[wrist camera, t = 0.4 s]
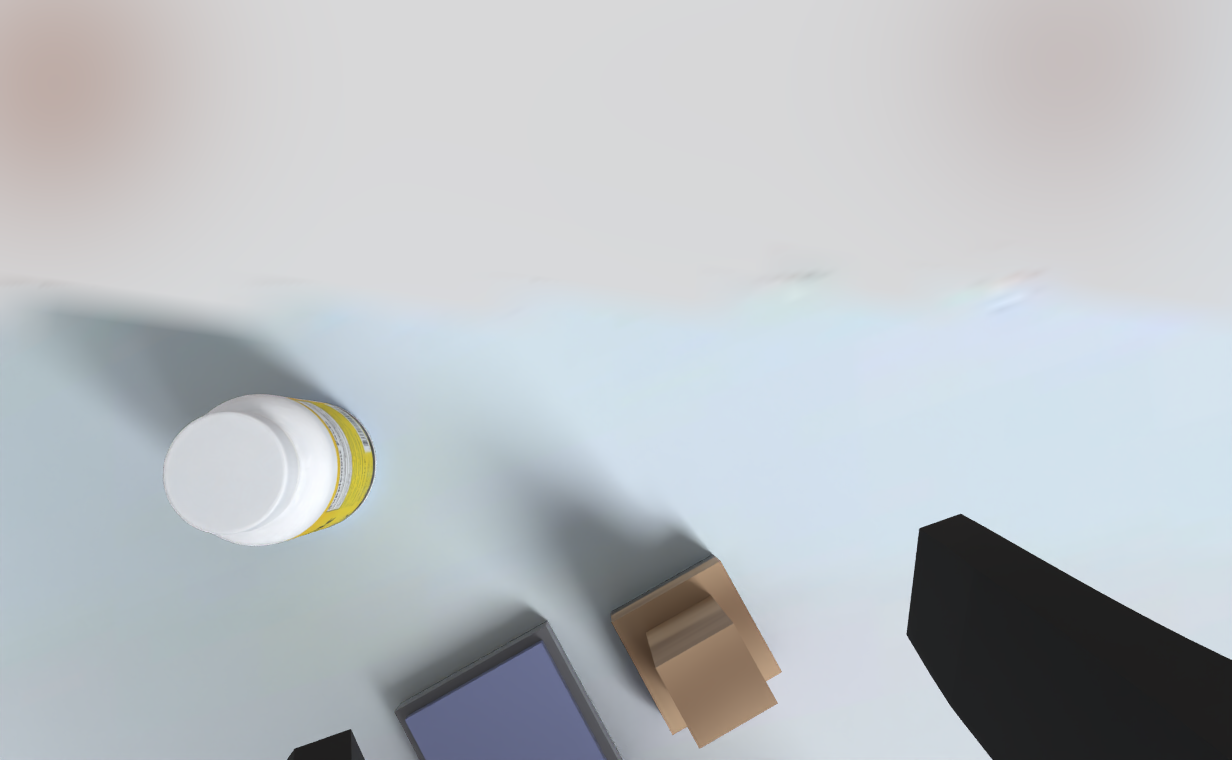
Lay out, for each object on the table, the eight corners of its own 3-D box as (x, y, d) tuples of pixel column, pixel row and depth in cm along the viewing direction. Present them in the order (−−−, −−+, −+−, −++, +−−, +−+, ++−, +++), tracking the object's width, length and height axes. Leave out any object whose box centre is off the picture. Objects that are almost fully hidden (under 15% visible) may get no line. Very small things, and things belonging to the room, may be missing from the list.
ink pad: (627, 769, 38) (629, 784, 36) (479, 854, 38) (474, 874, 36) (547, 620, 39) (545, 628, 37) (400, 703, 38) (391, 716, 36)
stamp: (770, 658, 39) (818, 715, 30) (667, 717, 38) (688, 791, 30) (712, 554, 39) (744, 582, 31) (610, 612, 39) (614, 656, 30)
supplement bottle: (242, 520, 39) (123, 543, 29) (264, 394, 39) (153, 375, 29) (369, 538, 39) (293, 567, 29) (389, 411, 39) (321, 398, 29)
